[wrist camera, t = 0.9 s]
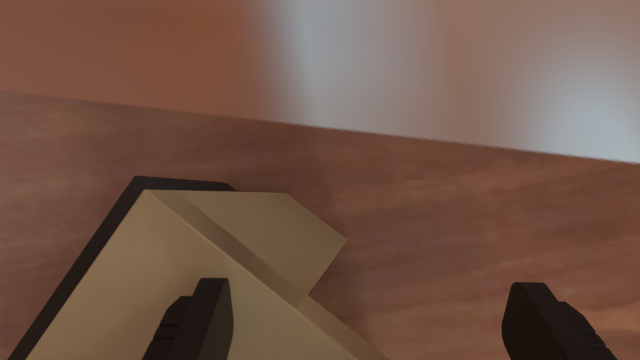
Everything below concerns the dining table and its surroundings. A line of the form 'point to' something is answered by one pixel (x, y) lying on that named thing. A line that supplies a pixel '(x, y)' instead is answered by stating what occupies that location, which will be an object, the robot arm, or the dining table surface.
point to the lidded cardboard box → (197, 276)
